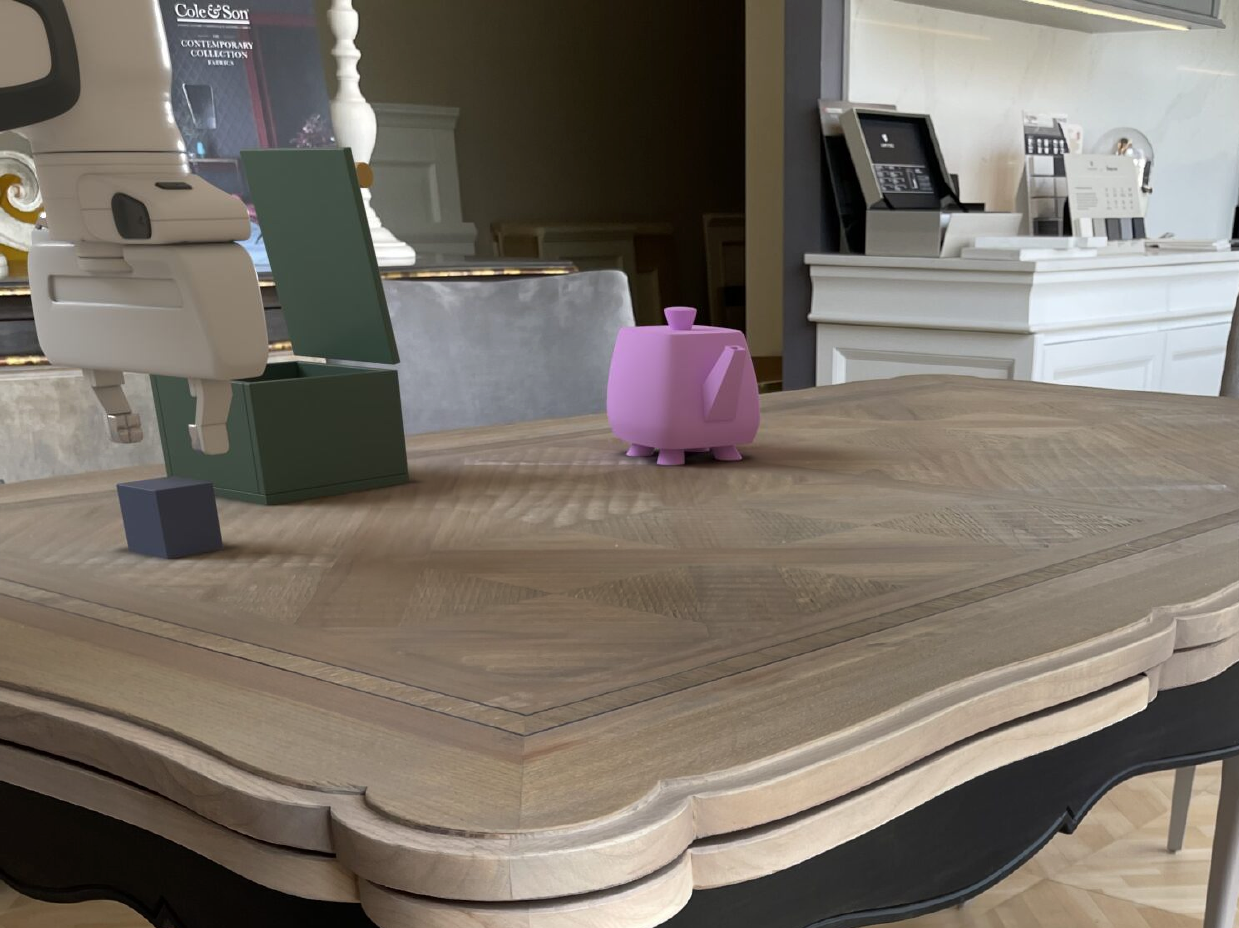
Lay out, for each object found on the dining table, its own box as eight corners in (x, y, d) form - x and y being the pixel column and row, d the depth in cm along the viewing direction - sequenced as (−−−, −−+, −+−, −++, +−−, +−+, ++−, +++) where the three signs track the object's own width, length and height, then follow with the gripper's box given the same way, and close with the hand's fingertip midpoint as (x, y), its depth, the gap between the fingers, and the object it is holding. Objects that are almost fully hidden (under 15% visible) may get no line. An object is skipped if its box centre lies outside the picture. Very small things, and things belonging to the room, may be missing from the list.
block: (168, 560, 103) (155, 490, 101) (128, 552, 106) (115, 483, 104) (224, 550, 107) (213, 482, 104) (184, 542, 109) (173, 475, 107)
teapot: (578, 448, 151) (570, 302, 145) (691, 440, 157) (688, 299, 151) (678, 477, 136) (674, 316, 130) (798, 467, 142) (800, 312, 136)
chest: (267, 506, 122) (249, 383, 117) (169, 489, 128) (148, 372, 124) (410, 483, 132) (398, 369, 128) (312, 468, 138) (298, 360, 134)
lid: (343, 148, 118) (396, 136, 121) (238, 149, 124) (291, 138, 128) (393, 365, 127) (441, 348, 131) (293, 355, 134) (341, 340, 137)
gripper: (-18, 210, 99) (36, 442, 106) (174, 208, 89) (221, 466, 96) (73, 208, 104) (120, 431, 111) (266, 207, 93) (304, 453, 100)
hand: (168, 447), depth 103 cm, fingers open, 8 cm apart
